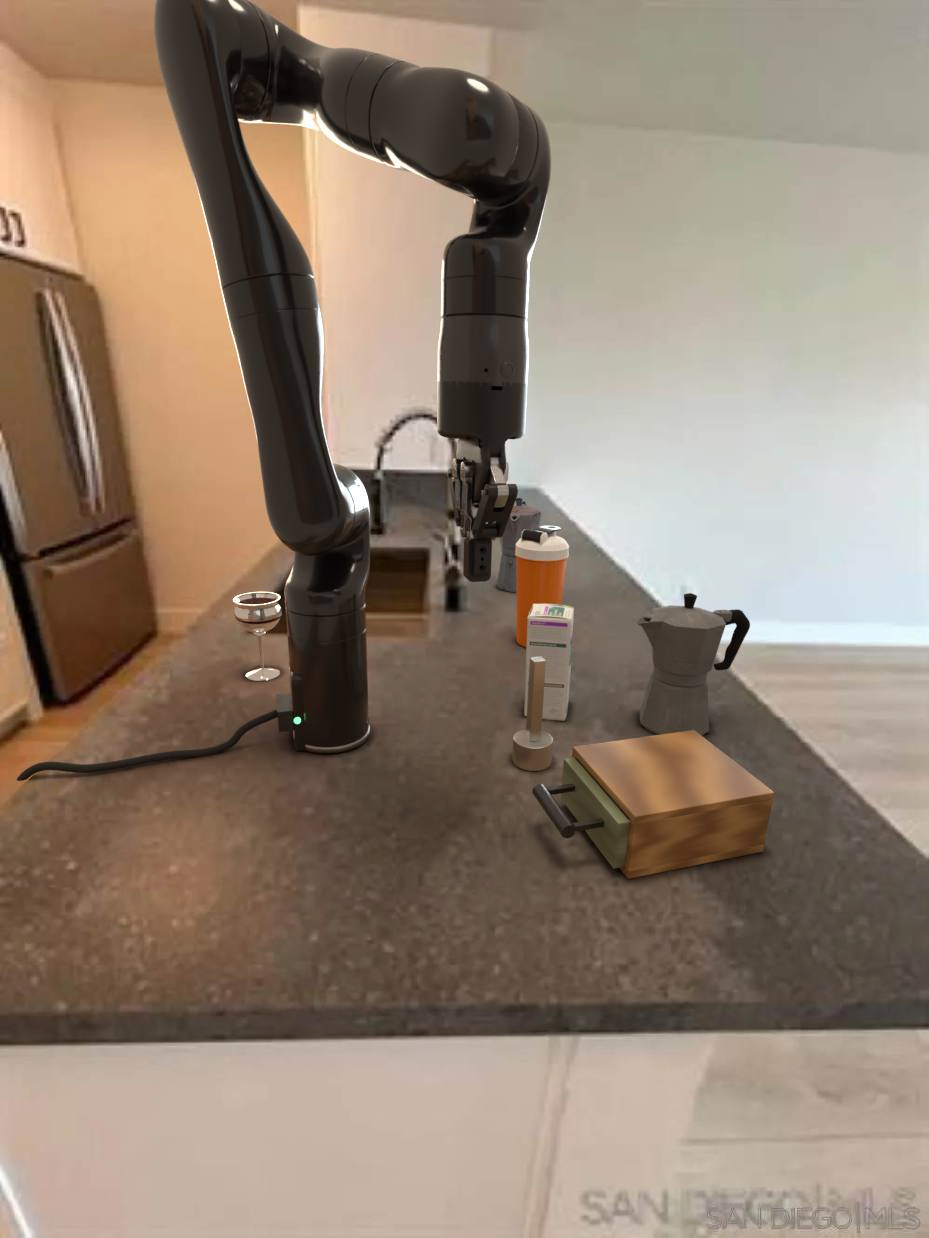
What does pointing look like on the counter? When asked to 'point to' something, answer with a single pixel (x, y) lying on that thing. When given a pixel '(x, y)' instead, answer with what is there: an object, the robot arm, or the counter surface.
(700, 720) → the coffeepot
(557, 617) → the syrup box
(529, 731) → the post on round base
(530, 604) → the shaker bottle
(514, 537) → the moka pot
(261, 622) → the wineglass
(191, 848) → the counter surface
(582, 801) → the drawer
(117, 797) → the counter surface
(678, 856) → the cabinet
